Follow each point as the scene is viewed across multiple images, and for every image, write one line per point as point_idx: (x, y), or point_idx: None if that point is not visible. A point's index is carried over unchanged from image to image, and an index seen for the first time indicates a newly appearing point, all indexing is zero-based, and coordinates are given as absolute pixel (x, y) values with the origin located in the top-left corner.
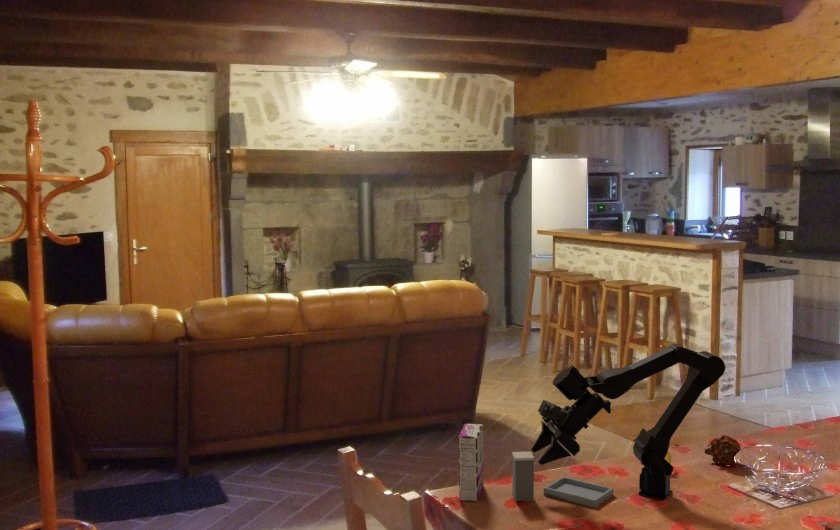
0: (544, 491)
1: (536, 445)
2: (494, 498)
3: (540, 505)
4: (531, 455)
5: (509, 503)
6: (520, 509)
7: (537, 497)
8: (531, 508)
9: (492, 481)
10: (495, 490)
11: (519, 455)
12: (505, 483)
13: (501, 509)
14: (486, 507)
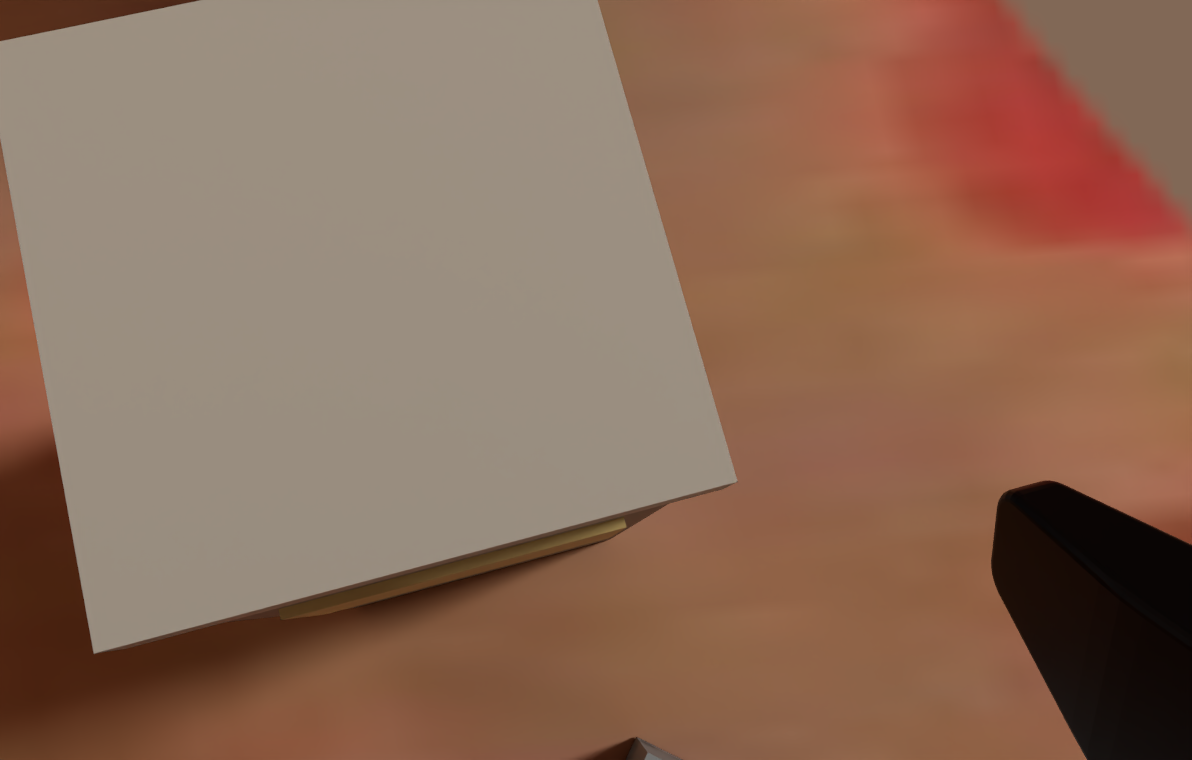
0: (638, 755)
1: (1135, 659)
2: None
3: (215, 719)
4: (330, 537)
5: None
6: (33, 448)
7: (518, 651)
8: None
9: (980, 6)
10: (669, 70)
11: (277, 157)
12: (951, 172)
13: (8, 201)
14: (59, 14)
